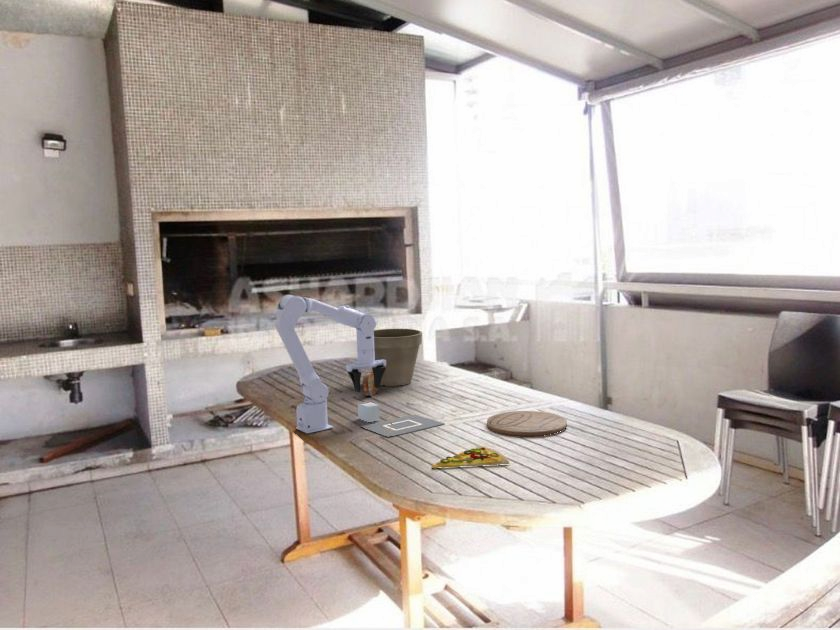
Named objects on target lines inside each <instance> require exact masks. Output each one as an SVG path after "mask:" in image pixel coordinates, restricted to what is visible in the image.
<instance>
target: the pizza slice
mask: <svg viewBox="0 0 840 630" xmlns="http://www.w3.org/2000/svg"><path fill="white" fill-rule="evenodd" d="M497 464H498V465H499V464H509V465H510V460H509V459H508V457H506V456H505V455H504V454H503V453H501V452H500V451H497V450H496V449H494V448H491V447H488V446H485V445H484V446H482V445H479V446H476V447H475V448H471V449H468V450H464V451H462V452H459V453H458V454H456V455H453V456H446V457H445V458H440V461H438V462H436V463H435V464H434V465H432V466H430V467H431V468H436V467H460V466H483V465H497Z"/></svg>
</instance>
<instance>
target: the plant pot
mask: <svg viewBox="0 0 840 630" xmlns="http://www.w3.org/2000/svg"><path fill="white" fill-rule="evenodd" d="M422 339H423V332H422V330H419V329H413V328H381V329H380V328H379V329H374V351H375V360H382V359H383V360H386V366H383V367H386V370H385V372H384V374H383V376H382V379H381V383H380V386H382V385H385V386H384V387H401V386H400V385H402V386H406V384H407V385H409V384H411V382H412V381H413V376H414V372H415V368H416V363H417V358H418V355H419V349H420V345H421V344H422V343H423V340H422ZM398 385H399V386H398Z"/></svg>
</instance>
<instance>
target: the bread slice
mask: <svg viewBox="0 0 840 630" xmlns="http://www.w3.org/2000/svg"><path fill="white" fill-rule="evenodd" d="M362 390H363V394H364V396H365V397H373V396H374V395H375V394H376V393H377V392H378V391H379V388H375V386H374V375H373V371H369V372H367V373H366V374H365V375H364V376H363V378H362ZM375 392H376V393H375ZM374 393H375V394H374ZM373 394H374V395H373ZM372 395H373V396H372Z"/></svg>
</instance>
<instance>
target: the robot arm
mask: <svg viewBox="0 0 840 630" xmlns="http://www.w3.org/2000/svg"><path fill="white" fill-rule="evenodd" d="M312 311H313V312H317V313H320V314H323V315H326V316H330V317H332V318H334V321H335V322H336V323H337V324H341V325H344V326H347V327H350V328H353V329H355V330H356V351H357V353H356V357H357V362H354V363H351V364H346V365H345V370H346V371H347V374H348V376H349V377H350V380H351V381H352V384H353V387H354V392H357V393H360V392H361V377H362V372H361V371H360V370H366V369H370V368H371V370H372V371H373V375H374V386H375V388H378V389H380V388H381V385H380V383H381V379H382V376H383V374H384V372H385V370H386V367H383V366H386V360H383V359H382V360H375V351H374V330H376V326H377V324H378V323H377V321H376V319H375V317H374V316H373V315H372V314H369V313H365V312H363V310H361V309H358V310H356V309H354V308H351V305H348V304H345V305H339V306H338V307H335V306H333V305H330V304H328V303H325V302H322V301H319V300H317V299H314V298H310V297H304V296H299V295H292V294H284V295H283V296H282V297H281V298H280V299H279V302H278V304H277V305H276V313H277V314H276V325H275V328H276V331H277V332H278V335H279V337H280V340H282V343H283V345H284V347H285V349H286V352H287V353H288V355H289V357H290V360H291V362H292V363H293V365H294V368H295V370H296V372H297V374H298V376H299V382H300V386H301V392H302V394H303V396H304V398H303V399H304V400H303V402H302V403H300V404H297V406H296V414H295V415H296V430H299V431H301V432H303V433H305V434H311V433H315V432H320V431H325V430H330V429H333V428H334V426H333V425H331V424H328V423H329V421H328V420H329V419H328V401H327V400H328V399H327V398H328V396H329V393H330V391H329V387H328V386H327V385H326V384H325V383H324V382H323V381H322V380H321V378H320V377H319V375H318V374H317V373H316V372H315V369H314V367H313V365H312V363H311V361H310V359H309V357H308V356H309V355H308V354H307V352H306V350H305V348H304V346H303V344H302V342H301V340H300V338H299V336H298V333H297V331H296V329H295V327H296V325H297V323H298V320H299V319H300V318H301V317H302V316H303V315H304V313H310V312H311V313H312ZM372 371H371V372H372Z"/></svg>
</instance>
